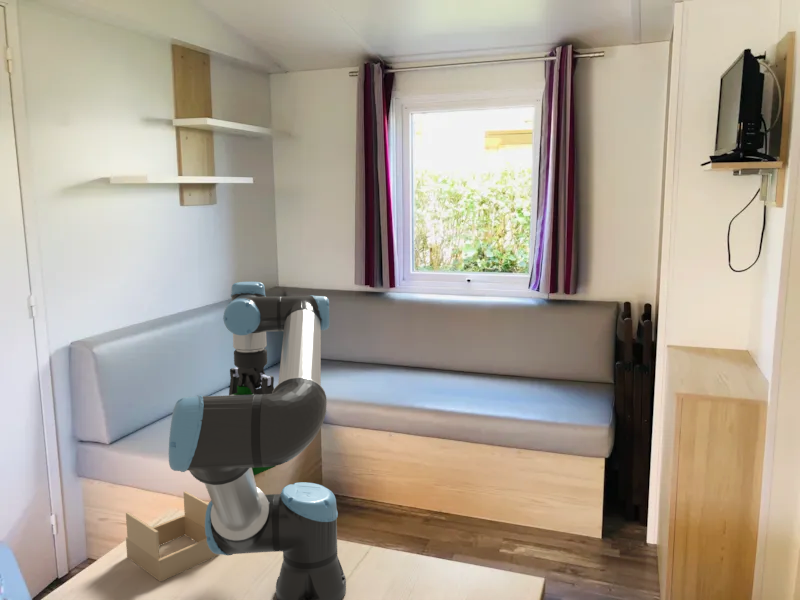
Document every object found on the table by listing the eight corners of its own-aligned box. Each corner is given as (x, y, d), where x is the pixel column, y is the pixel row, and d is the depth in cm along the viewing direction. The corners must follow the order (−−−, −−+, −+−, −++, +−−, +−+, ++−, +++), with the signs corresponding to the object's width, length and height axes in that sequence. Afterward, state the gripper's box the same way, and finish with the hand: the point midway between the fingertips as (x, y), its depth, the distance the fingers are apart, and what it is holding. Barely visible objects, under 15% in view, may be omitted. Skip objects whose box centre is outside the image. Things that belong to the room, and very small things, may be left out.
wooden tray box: (220, 553, 157) (218, 509, 155) (160, 581, 145) (157, 533, 143) (186, 532, 167) (183, 490, 165) (127, 557, 155) (124, 511, 154)
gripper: (293, 352, 146) (295, 448, 149) (236, 339, 160) (239, 427, 163) (266, 358, 140) (269, 458, 143) (209, 344, 154) (213, 435, 158)
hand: (253, 441), depth 153 cm, fingers closed on soya milk, 9 cm apart
